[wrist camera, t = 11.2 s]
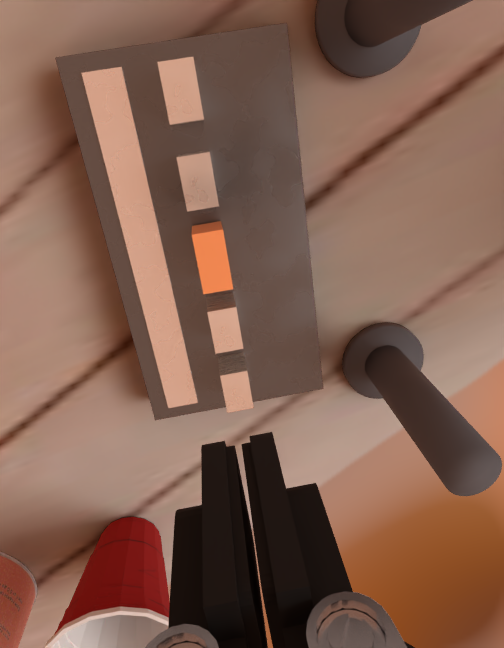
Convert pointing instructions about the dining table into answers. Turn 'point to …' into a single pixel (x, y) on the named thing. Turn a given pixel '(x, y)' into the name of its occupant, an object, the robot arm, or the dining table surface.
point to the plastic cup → (119, 591)
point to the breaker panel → (202, 211)
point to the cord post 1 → (373, 31)
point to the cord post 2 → (420, 407)
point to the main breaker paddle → (212, 257)
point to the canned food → (14, 599)
